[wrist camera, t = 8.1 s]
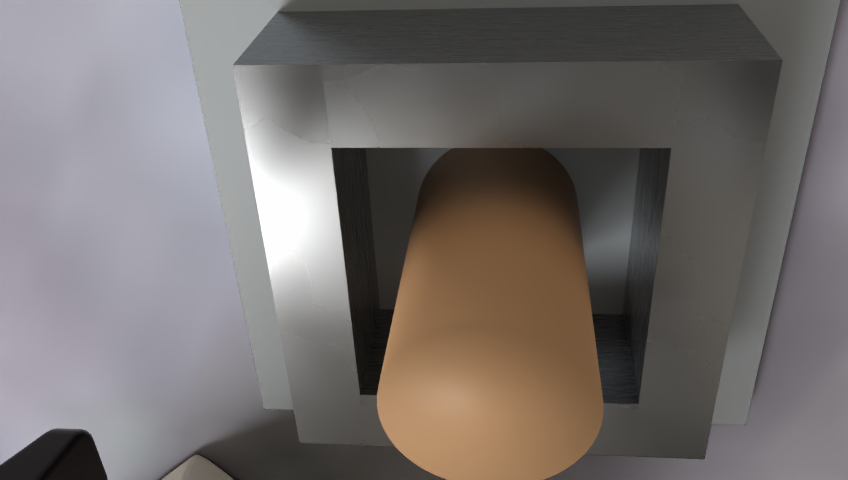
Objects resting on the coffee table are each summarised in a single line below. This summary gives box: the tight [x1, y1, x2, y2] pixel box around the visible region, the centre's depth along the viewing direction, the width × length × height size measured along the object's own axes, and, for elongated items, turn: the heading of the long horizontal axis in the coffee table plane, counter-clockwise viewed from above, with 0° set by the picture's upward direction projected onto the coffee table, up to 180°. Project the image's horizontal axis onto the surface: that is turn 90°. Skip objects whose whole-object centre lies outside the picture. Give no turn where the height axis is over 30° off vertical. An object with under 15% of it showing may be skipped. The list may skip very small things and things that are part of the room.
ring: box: [232, 4, 783, 459], centre depth 13 cm, size 7×7×2 cm
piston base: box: [179, 0, 840, 480], centre depth 12 cm, size 10×10×6 cm
